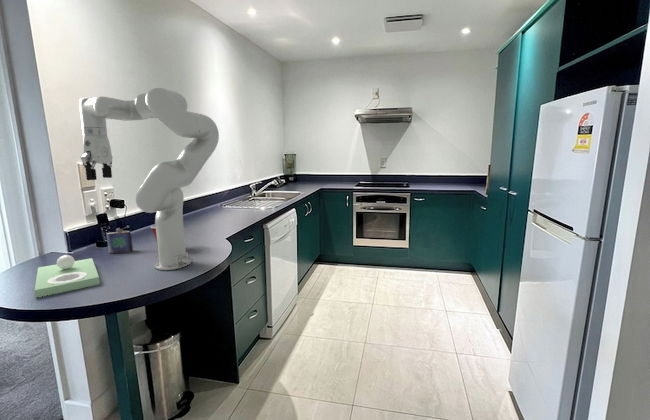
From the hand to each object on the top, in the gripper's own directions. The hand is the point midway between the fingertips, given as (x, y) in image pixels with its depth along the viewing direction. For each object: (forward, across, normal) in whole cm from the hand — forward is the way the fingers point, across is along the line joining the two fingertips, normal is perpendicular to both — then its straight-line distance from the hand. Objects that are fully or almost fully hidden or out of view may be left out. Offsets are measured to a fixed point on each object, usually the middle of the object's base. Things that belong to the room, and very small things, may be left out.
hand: (99, 178), depth 125 cm
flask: (+34, +13, +2) cm, 36 cm away
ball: (+28, -15, +6) cm, 32 cm away
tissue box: (+33, -18, +3) cm, 38 cm away
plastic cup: (+33, +13, -17) cm, 40 cm away
